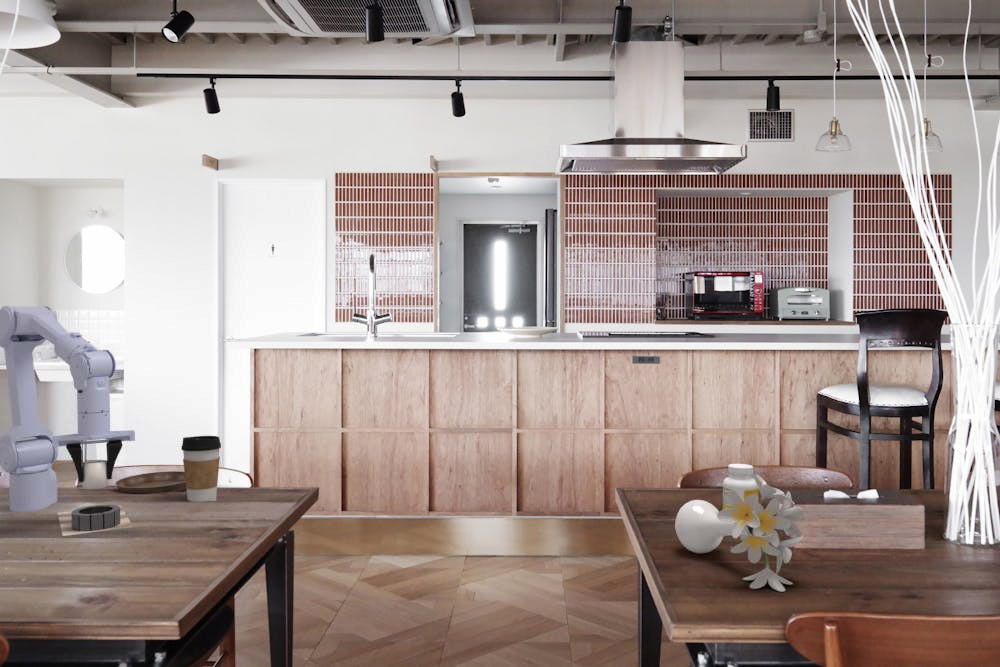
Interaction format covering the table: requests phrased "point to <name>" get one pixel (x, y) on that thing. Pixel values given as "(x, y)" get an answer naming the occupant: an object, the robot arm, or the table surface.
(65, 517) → the mount plate
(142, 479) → the plant saucer
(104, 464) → the white cylinder
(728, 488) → the supplement bottle
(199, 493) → the coffee cup
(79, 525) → the dark grey segmented ring
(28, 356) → the robot arm
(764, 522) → the flower vase
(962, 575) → the table surface
